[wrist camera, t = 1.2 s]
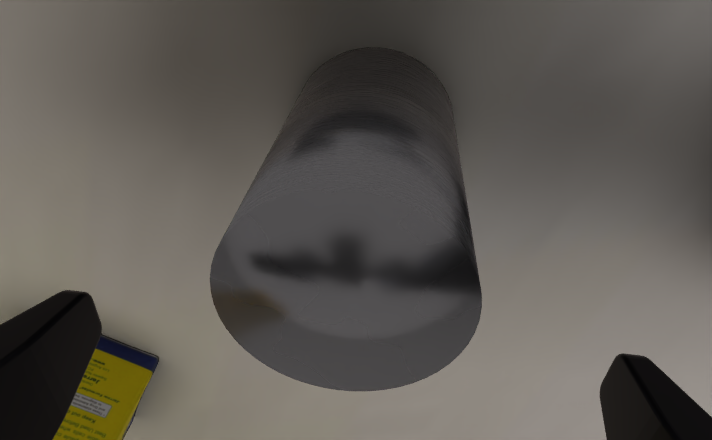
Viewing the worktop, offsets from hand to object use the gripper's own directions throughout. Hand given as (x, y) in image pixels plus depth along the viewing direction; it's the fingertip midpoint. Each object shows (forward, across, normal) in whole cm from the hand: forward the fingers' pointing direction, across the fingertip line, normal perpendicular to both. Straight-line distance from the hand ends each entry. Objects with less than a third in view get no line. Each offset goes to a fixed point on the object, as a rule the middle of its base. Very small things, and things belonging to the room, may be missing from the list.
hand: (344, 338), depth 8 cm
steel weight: (+9, 0, 0) cm, 9 cm away
